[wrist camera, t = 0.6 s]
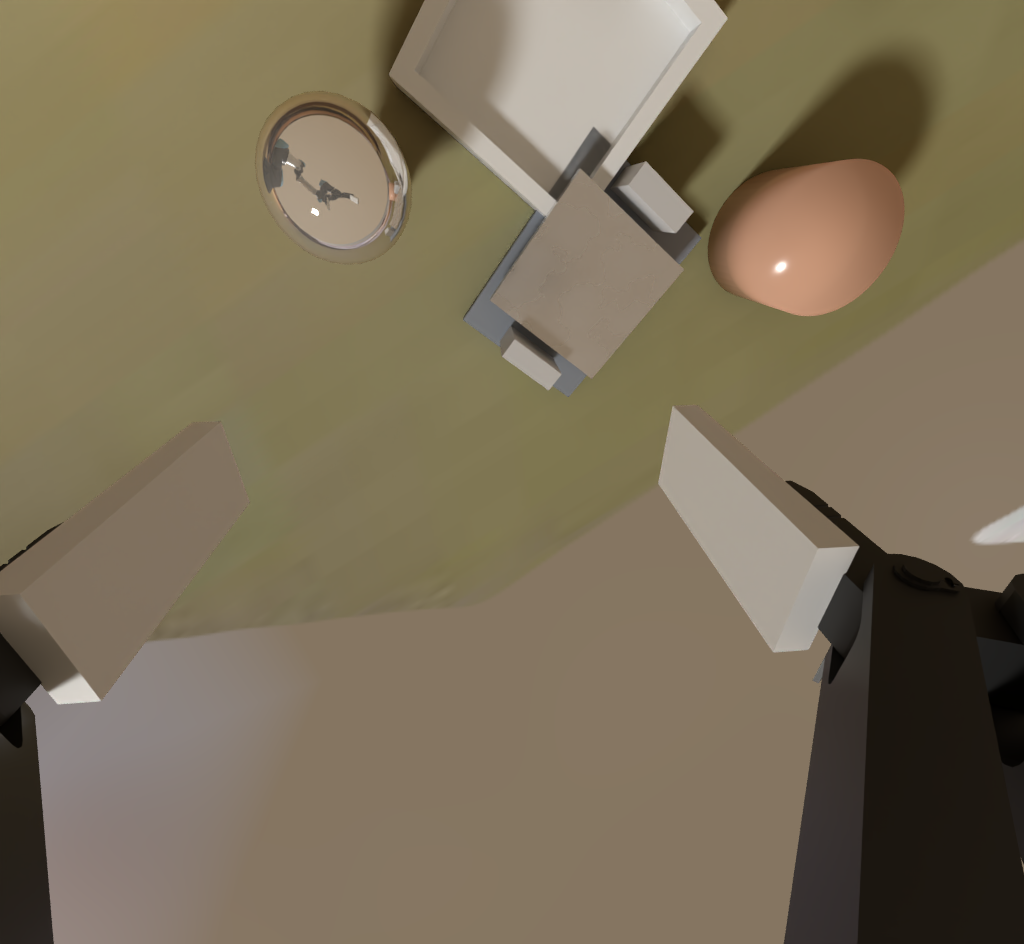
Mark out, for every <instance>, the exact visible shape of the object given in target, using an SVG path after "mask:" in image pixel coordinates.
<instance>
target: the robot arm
mask: <svg viewBox="0 0 1024 944" xmlns="http://www.w3.org/2000/svg"><path fill="white" fill-rule="evenodd" d="M658 484H659V485H660V487H661V488H662V490H663V491H664V492H665V494H666V495H667V497H668V498H669V500H670V501H671V503H672V504H673V506H674V507H675V509H676V510H677V512H678V513H679V515H680V516H681V518H682V519H683V520H684V522H685V523H686V525H687V526H688V528H689V529H690V531H691V532H692V534H693V535H694V537H695V538H696V540H697V541H698V542H699V544H700V546H701V547H702V548H703V550H704V551H705V553H706V554H707V556H708V557H709V559H710V560H711V562H712V563H713V565H714V566H715V568H716V569H717V571H718V572H719V573H720V575H721V576H722V578H723V579H724V580H725V582H726V584H727V585H728V587H729V588H730V589H731V591H732V593H733V594H734V595H735V597H736V599H737V600H738V601H739V603H740V604H741V606H742V607H743V609H744V610H745V612H746V613H747V615H748V616H749V618H750V619H751V621H752V622H753V624H754V625H755V626H756V628H757V629H758V631H759V632H760V634H761V635H762V637H763V638H764V640H765V641H766V643H767V644H768V645H769V647H770V649H771V650H772V651H773V652H784V651H797V650H808V649H809V648H810V646H811V644H812V641H813V639H814V637H815V635H816V633H817V631H818V629H819V630H820V631H821V632H822V633H823V634H824V636H825V637H826V638H827V639H828V640H829V641H830V643H831V646H830V649H829V650H828V652H827V654H826V656H825V658H824V660H823V662H822V664H821V666H820V667H819V669H818V671H817V673H816V675H815V677H814V679H813V681H815V682H817V683H819V682H820V681H821V679H822V682H821V690H820V697H819V703H818V711H817V717H816V724H815V731H814V738H813V745H812V752H811V759H810V766H809V773H808V780H807V787H806V794H805V800H804V808H803V815H802V821H801V828H800V836H799V842H798V849H797V856H796V863H795V870H794V877H793V884H792V892H791V898H790V905H789V912H788V919H787V926H786V933H785V940H784V944H1024V872H1023V867H1022V862H1021V859H1022V861H1023V863H1024V574H1019V575H1015V577H1014V578H1013V579H1012V581H1011V582H1010V583H1009V585H1008V586H1007V587H1006V589H1005V590H1004V591H1003V593H999V592H993V591H987V590H980V589H974V588H968V587H964V586H963V584H962V583H961V582H960V581H958V580H957V579H956V578H955V577H954V576H953V575H951V574H950V573H948V572H947V571H945V570H943V569H942V568H940V567H938V566H936V565H934V564H932V563H929V562H927V561H924V560H922V559H919V558H916V557H911V556H907V555H902V554H887V553H886V552H884V551H883V550H882V549H881V548H880V547H878V546H877V545H876V544H875V543H874V542H872V541H871V540H870V539H869V538H868V537H866V536H865V535H864V534H863V533H862V532H860V531H859V530H858V529H857V528H856V527H854V526H853V525H852V524H851V523H850V522H848V521H847V520H846V519H844V518H841V515H840V514H839V513H838V512H836V511H835V510H834V509H833V508H832V507H828V504H827V503H826V502H824V501H823V500H822V499H821V498H820V497H818V496H817V495H816V494H815V493H814V492H812V491H810V490H808V489H806V488H804V487H802V486H800V485H798V484H796V483H795V482H793V481H784V480H783V479H782V478H781V477H780V476H778V475H777V474H776V473H775V472H774V471H773V470H772V469H770V468H769V467H768V466H767V465H766V464H765V463H764V462H762V461H761V460H760V459H759V458H758V457H757V456H755V455H754V454H753V453H752V452H751V451H749V449H747V448H746V447H745V446H744V445H743V444H742V443H741V442H739V441H738V440H737V439H736V438H735V437H734V436H733V435H731V434H730V433H729V432H728V431H727V430H726V429H725V428H723V427H722V426H721V425H720V424H719V423H718V422H716V421H715V420H714V419H713V418H712V417H711V416H710V415H708V414H707V413H706V412H705V411H704V410H703V409H702V408H700V407H699V406H698V405H681V406H673V408H672V413H671V418H670V424H669V429H668V434H667V440H666V445H665V450H664V456H663V461H662V466H661V472H660V477H659V482H658ZM249 503H250V501H249V498H248V495H247V493H246V490H245V487H244V484H243V482H242V479H241V476H240V473H239V470H238V468H237V465H236V462H235V459H234V456H233V454H232V451H231V448H230V445H229V442H228V440H227V437H226V434H225V431H224V428H223V426H222V423H221V421H218V422H193V423H191V424H190V425H189V426H187V427H186V428H185V429H184V430H182V431H181V432H180V433H178V434H177V435H176V436H174V437H173V438H172V439H171V440H169V441H168V442H167V443H165V444H164V445H163V446H162V447H160V448H159V449H158V450H156V451H155V452H154V453H153V454H151V455H150V456H149V457H147V458H146V459H145V460H143V461H142V462H141V463H140V464H138V465H137V466H136V467H134V468H133V469H132V470H131V471H129V472H128V473H127V474H125V475H124V476H123V477H122V478H120V479H119V480H118V481H116V482H115V483H114V484H113V485H111V486H110V487H109V488H107V489H106V490H105V491H103V492H102V493H101V494H100V495H98V496H97V497H96V498H94V499H93V500H92V501H91V502H89V503H88V504H87V505H85V506H84V507H83V508H82V509H80V510H79V511H78V512H76V513H75V514H74V515H72V516H71V517H70V518H69V519H67V520H66V521H65V522H63V523H61V524H59V525H57V526H55V527H53V528H51V529H49V530H47V531H46V532H45V533H44V534H42V535H41V536H40V537H38V538H37V539H36V540H34V541H33V542H32V543H30V544H29V545H28V546H27V547H26V550H21V551H20V552H19V553H17V554H16V555H15V556H13V557H12V558H11V559H10V560H8V564H3V565H2V566H0V944H54V942H53V931H52V918H51V906H50V894H49V883H48V870H47V858H46V846H45V835H44V822H43V809H42V798H41V785H40V774H39V761H38V749H37V737H36V725H35V715H34V713H33V711H32V710H31V708H30V707H29V706H28V705H27V704H26V703H25V701H26V700H27V698H28V697H29V696H30V695H31V694H32V693H33V692H34V691H35V690H36V688H37V687H38V686H39V685H40V684H41V685H42V686H43V687H44V689H45V690H46V691H47V692H48V693H49V694H50V696H51V697H52V698H53V699H54V700H55V701H56V703H57V704H66V703H67V704H68V703H81V702H95V701H102V699H103V698H104V697H105V695H106V694H107V693H108V691H109V690H110V689H111V687H112V686H113V685H114V683H115V682H116V681H117V679H118V678H119V677H120V675H121V674H122V673H123V671H124V670H125V669H126V667H127V666H128V665H129V663H130V662H131V661H132V659H133V658H134V656H135V655H136V654H137V653H138V651H139V650H140V649H141V647H142V646H143V645H144V643H145V642H146V641H147V639H148V638H149V637H150V635H151V634H152V633H153V631H154V630H155V629H156V627H157V626H158V624H159V623H160V622H161V620H162V619H163V618H164V616H165V615H166V614H167V612H168V611H169V610H170V608H171V607H172V606H173V604H174V603H175V602H176V600H177V599H178V598H179V596H180V595H181V594H182V592H183V591H184V590H185V588H186V587H187V586H188V584H189V583H190V582H191V580H192V579H193V578H194V576H195V575H196V574H197V572H198V571H199V570H200V568H201V567H202V566H203V564H204V563H205V562H206V560H207V559H208V558H209V556H210V555H211V554H212V552H213V551H214V550H215V548H216V547H217V546H218V544H219V543H220V542H221V540H222V539H223V538H224V536H225V535H226V534H227V532H228V531H229V530H230V528H231V527H232V526H233V524H234V523H235V522H236V520H237V519H238V518H239V516H240V515H241V514H242V512H243V511H244V509H245V508H246V507H247V505H248V504H249Z"/></svg>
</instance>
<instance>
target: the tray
mask: <svg viewBox="0 0 1024 944" xmlns="http://www.w3.org/2000/svg"><path fill="white" fill-rule="evenodd" d="M727 19H728V18H727V16H726V15H725V14H724V12H723V11H722V10H721V8H720V7H719V6H718V4H717V3H716V2H715V0H425V1H424V3H423V5H422V7H421V9H420V11H419V13H418V15H417V17H416V19H415V21H414V23H413V25H412V27H411V29H410V31H409V33H408V35H407V38H406V40H405V42H404V44H403V46H402V48H401V50H400V52H399V54H398V56H397V58H396V60H395V62H394V64H393V66H392V68H391V70H390V72H389V76H390V78H391V79H392V81H393V82H394V84H395V85H396V87H398V88H399V89H400V90H401V91H402V92H403V93H404V94H405V95H407V96H408V97H409V98H410V99H411V100H412V101H413V102H414V103H416V104H417V105H418V106H419V107H420V108H421V109H422V110H423V111H424V112H426V113H427V114H428V115H429V116H430V117H431V118H432V119H433V120H435V121H436V122H437V123H438V124H439V125H440V126H441V127H442V128H443V129H445V130H446V131H447V132H448V133H449V134H450V135H451V136H452V137H454V138H455V139H456V140H457V141H458V142H459V143H460V144H461V145H463V146H464V147H465V148H466V149H467V150H468V151H469V152H470V153H471V154H473V155H474V156H475V157H476V158H477V159H478V160H479V161H480V162H482V163H483V164H484V165H485V166H486V167H487V168H488V169H489V170H490V171H492V172H493V173H494V174H495V175H496V176H497V177H498V178H499V179H501V180H502V181H503V182H504V183H505V184H506V185H507V186H508V187H510V188H511V189H512V190H513V191H514V192H515V193H516V194H517V195H518V196H520V197H521V198H522V199H523V200H524V201H525V202H526V203H527V204H529V205H530V206H531V207H532V208H533V209H534V210H537V211H538V212H539V213H540V214H541V215H543V216H544V217H546V215H547V214H548V212H549V211H550V209H551V208H552V206H553V205H554V203H555V202H556V201H557V199H558V198H557V199H556V198H555V197H559V196H557V195H561V193H562V192H563V191H560V190H563V189H565V188H563V185H564V184H565V183H566V184H565V185H567V183H569V182H570V181H569V180H571V179H572V177H573V176H574V175H572V176H571V175H570V174H575V173H576V170H578V169H581V167H580V165H583V166H582V168H584V167H585V166H586V168H587V166H588V165H591V166H592V167H594V166H595V167H596V168H595V167H594V168H595V169H594V170H593V169H592V170H591V171H590V170H589V169H590V168H591V167H590V166H588V167H590V168H589V169H588V168H587V169H588V171H587V170H586V168H585V170H586V171H585V170H584V169H583V171H584V172H586V174H587V172H589V174H588V175H589V177H590V178H591V179H592V180H593V181H594V182H595V183H596V184H597V185H598V186H599V187H600V188H601V189H602V190H603V191H604V190H605V188H606V187H607V186H608V184H609V183H610V181H611V180H612V179H613V177H614V176H615V175H616V173H617V172H618V170H619V169H620V168H621V166H622V165H623V163H624V162H625V161H626V159H627V158H628V156H629V155H630V154H631V152H632V151H633V150H634V148H635V147H636V145H637V144H638V143H639V141H640V140H641V138H642V137H643V136H644V134H645V133H646V131H647V130H648V129H649V127H650V126H651V124H652V123H653V122H654V120H655V119H656V118H657V116H658V115H659V113H660V112H661V111H662V109H663V108H664V106H665V105H666V104H667V102H668V101H669V99H670V98H671V97H672V95H673V94H674V93H675V91H676V90H677V88H678V87H679V86H680V84H681V83H682V81H683V80H684V79H685V77H686V76H687V74H688V73H689V72H690V70H691V69H692V67H693V66H694V65H695V63H696V62H697V61H698V59H699V58H700V56H701V55H702V54H703V52H704V51H705V49H706V48H707V47H708V45H709V44H710V42H711V41H712V40H713V38H714V37H715V36H716V34H717V33H718V31H719V30H720V29H721V27H722V26H723V24H724V23H725V22H726V20H727ZM593 126H594V128H596V129H597V131H596V132H598V131H599V132H598V133H599V134H601V135H602V136H603V137H604V138H603V137H602V136H601V135H600V136H599V134H596V133H595V131H594V130H596V129H593ZM592 129H593V132H591V133H590V131H592ZM593 133H595V135H593ZM590 134H592V135H593V136H596V135H597V138H596V137H595V138H594V137H593V136H592V135H591V137H590V136H589V137H588V141H590V142H589V144H590V143H592V146H591V145H590V146H589V144H588V145H587V146H589V148H590V149H587V148H588V147H586V148H585V146H586V144H587V142H588V141H587V142H585V141H584V140H586V139H587V138H586V137H587V135H590ZM599 137H601V138H599ZM590 138H591V140H590ZM593 138H594V139H597V140H598V138H599V140H598V141H597V140H594V139H593ZM602 138H603V139H604V141H603V139H602ZM592 139H593V140H594V141H593V142H592ZM601 139H602V141H601ZM605 139H606V141H605ZM596 141H597V142H598V143H599V144H602V143H605V142H608V143H605V144H603V145H604V146H605V145H606V144H607V145H608V144H611V146H605V147H606V148H604V147H603V145H600V146H602V148H604V150H601V151H599V150H600V149H601V148H599V147H600V146H599V145H598V146H597V144H598V143H597V144H596V143H595V142H596ZM601 142H602V143H601ZM582 143H584V144H585V145H583V144H582ZM581 144H582V145H583V146H584V149H587V150H588V152H587V150H585V151H583V150H582V148H581V147H583V146H582V145H581ZM595 144H596V145H595ZM594 145H595V146H596V147H597V148H599V149H596V147H593V146H594ZM607 147H610V148H608V149H607ZM580 148H581V149H580ZM591 149H592V151H590V150H591ZM594 149H595V150H596V151H595V150H594ZM578 150H580V152H584V154H586V153H587V154H588V153H589V152H590V153H591V154H590V153H589V154H590V156H593V157H590V156H589V157H588V158H586V157H587V154H586V157H585V156H584V157H583V155H584V154H580V153H579V152H578ZM597 150H598V151H597ZM606 150H607V152H602V151H606ZM593 151H595V152H596V153H597V152H598V154H596V156H598V157H602V155H603V154H604V153H605V155H603V158H601V159H600V158H598V157H597V158H595V157H596V156H595V157H594V155H595V152H594V153H592V152H593ZM601 152H602V153H601ZM577 153H579V154H578V155H579V156H582V157H580V158H578V157H579V156H578V155H576V154H577ZM599 153H600V155H601V156H600V155H599ZM592 154H593V155H592ZM574 155H576V156H577V157H576V156H574ZM575 157H576V158H575ZM572 158H573V159H574V161H573V160H572ZM584 158H585V159H584ZM591 158H592V159H591ZM593 158H594V159H593ZM576 159H577V160H578V161H577V163H575V160H576ZM581 159H583V160H581ZM586 159H587V160H588V159H590V160H588V164H587V160H586ZM596 159H598V160H597V162H595V161H594V160H596ZM599 159H600V160H599ZM584 160H586V162H584V164H583V161H584ZM592 160H593V161H594V162H593V161H592ZM572 161H573V162H572ZM590 161H591V162H593V163H596V164H593V163H590ZM599 161H600V162H599ZM571 162H572V163H571ZM580 162H582V164H581V163H580ZM573 163H575V164H576V165H577V166H579V168H577V166H576V165H575V166H574V167H573V165H574V164H573ZM578 163H580V164H578ZM589 163H590V164H589ZM568 164H571V165H568ZM572 164H573V165H572ZM586 164H587V165H586ZM593 165H594V166H593ZM569 166H572V168H573V169H572V170H570V172H572V171H575V172H572V173H569V171H567V172H566V170H567V168H568V167H569ZM575 167H576V168H577V169H574V168H575ZM568 169H571V168H568ZM563 171H565V172H566V173H569V174H566V175H564V174H562V172H563ZM592 171H593V172H592ZM565 172H564V173H565ZM590 172H591V173H590ZM561 174H562V175H561ZM590 174H591V175H590ZM560 175H561V176H560ZM563 175H564V176H565V178H560V177H563ZM566 176H568V178H570V179H569V180H568V179H567V180H566V178H567V177H566ZM569 176H570V177H569ZM558 179H560V180H561V179H563V181H564V182H563V181H562V182H561V183H564V184H560V182H559V181H560V180H558ZM557 181H558V182H559V183H558V185H559V186H557V184H556V182H557ZM567 181H569V182H567ZM554 185H555V187H554ZM561 185H562V186H561ZM552 187H554V188H552ZM557 187H559V189H558V190H559V191H557V189H556V188H557ZM560 187H562V188H561V189H560ZM564 187H566V186H564ZM554 189H555V190H554ZM551 192H552V193H553V194H552V195H553V196H552V195H549V194H548V193H550V194H551ZM556 192H558V193H557V195H556ZM554 195H556V196H555V197H554Z"/></svg>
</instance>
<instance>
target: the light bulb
mask: <svg viewBox="0 0 1024 944" xmlns="http://www.w3.org/2000/svg"><path fill="white" fill-rule="evenodd" d="M255 169H256V177H257V183H258V186H259V190H260V193H261V196H262V199H263V201H264V203H265V205H266V207H267V209H268V212H269V213H270V215H271V216H272V218H273V219H274V221H275V222H276V224H277V225H278V227H279V228H280V229H281V230H282V231H283V232H284V233H285V234H286V235H287V236H288V237H289V238H290V239H291V240H292V241H293V242H294V243H295V244H297V245H298V246H299V247H300V248H302V249H303V250H304V251H306V252H308V253H310V254H311V255H313V256H315V257H317V258H319V259H322V260H325V261H328V262H331V263H338V264H362V263H365V262H368V261H372V260H375V259H376V258H378V257H380V256H382V255H383V254H385V253H386V252H387V251H388V250H389V249H390V248H392V247H393V246H394V245H395V243H396V242H397V241H398V239H399V238H400V236H401V235H402V233H403V231H404V229H405V227H406V224H407V222H408V219H409V215H410V210H411V205H412V186H411V179H410V173H409V170H408V167H407V163H406V160H405V157H404V155H403V153H402V151H401V149H400V147H399V145H398V143H397V141H396V139H395V137H394V136H393V135H392V133H391V132H390V131H389V129H388V128H387V126H386V125H385V124H384V123H383V122H382V121H381V120H380V119H379V118H378V117H377V116H376V115H375V114H374V113H373V112H372V111H370V110H369V109H367V108H366V107H364V106H363V105H361V104H360V103H358V102H357V101H354V100H352V99H349V98H347V97H345V96H342V95H340V94H336V93H331V92H325V91H312V92H304V93H301V94H298V95H295V96H292V97H290V98H289V99H287V100H286V101H285V102H283V103H282V104H280V105H279V106H277V107H276V108H275V109H274V111H273V112H272V113H271V114H270V115H269V116H268V118H267V119H266V121H265V123H264V125H263V127H262V129H261V131H260V133H259V137H258V141H257V145H256V153H255Z"/></svg>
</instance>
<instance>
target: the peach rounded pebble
mask: <svg viewBox="0 0 1024 944" xmlns="http://www.w3.org/2000/svg"><path fill="white" fill-rule="evenodd" d="M903 222H904V199H903V194H902V191H901V188H900V185H899V183H898V181H897V179H896V178H895V176H894V175H893V174H892V173H891V172H890V171H889V170H888V169H887V168H886V167H884V166H883V165H881V164H879V163H877V162H875V161H871V160H867V159H848V160H841V161H834V162H827V163H819V164H812V165H805V166H798V167H791V168H784V169H777V170H771V171H767V172H764V173H761V174H758V175H756V176H754V177H752V178H751V179H749V180H747V181H746V182H745V183H743V184H742V185H741V186H740V187H738V188H737V189H736V190H735V191H734V192H733V193H732V194H731V195H730V196H729V198H728V199H727V200H726V202H725V203H724V204H723V206H722V207H721V209H720V211H719V212H718V214H717V216H716V218H715V221H714V223H713V226H712V229H711V232H710V237H709V243H708V260H709V265H710V269H711V272H712V274H713V276H714V278H715V280H716V281H717V282H718V284H719V285H720V286H721V287H722V288H723V289H725V290H726V291H728V292H729V293H731V294H733V295H736V296H739V297H742V298H745V299H748V300H751V301H754V302H758V303H761V304H764V305H767V306H770V307H773V308H776V309H779V310H782V311H785V312H789V313H792V314H795V315H800V316H816V315H821V314H826V313H829V312H832V311H835V310H837V309H839V308H841V307H843V306H845V305H846V304H848V303H850V302H851V301H853V300H854V299H856V298H857V297H858V296H860V295H861V294H862V293H863V292H864V291H865V290H867V289H868V288H869V287H870V286H871V285H872V283H873V282H874V281H875V280H876V279H877V278H878V277H879V275H880V274H881V273H882V272H883V270H884V268H885V267H886V265H887V264H888V262H889V261H890V259H891V257H892V255H893V253H894V251H895V249H896V246H897V244H898V242H899V238H900V235H901V232H902V227H903Z"/></svg>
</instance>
